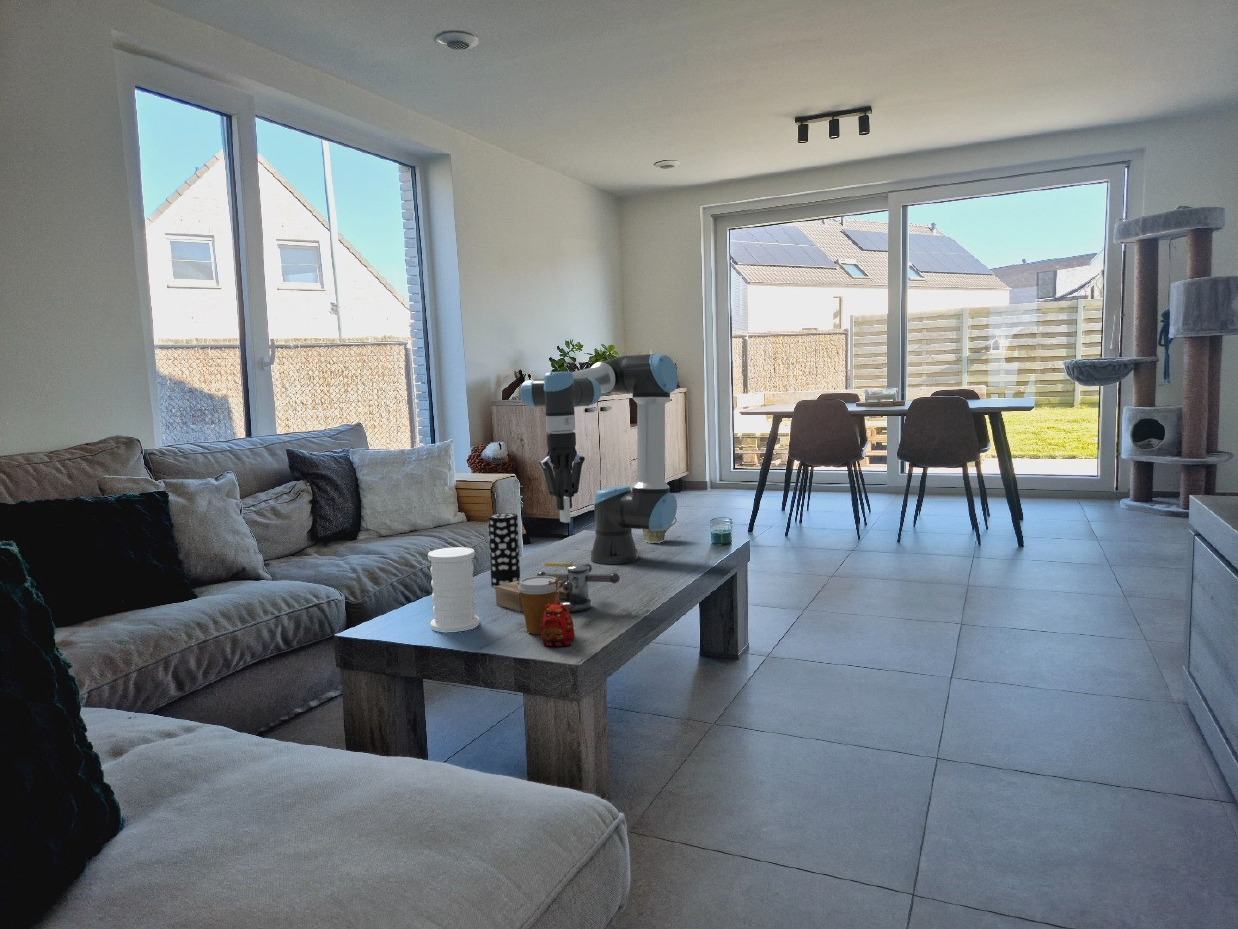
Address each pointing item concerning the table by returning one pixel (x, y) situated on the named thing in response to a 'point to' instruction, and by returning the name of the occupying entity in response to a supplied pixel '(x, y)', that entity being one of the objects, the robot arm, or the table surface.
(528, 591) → the disposable coffee cup
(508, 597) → the walnut stand
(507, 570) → the spotted tube
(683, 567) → the table surface
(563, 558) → the table surface
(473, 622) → the decorative container
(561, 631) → the red clay folk toy
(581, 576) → the capstan
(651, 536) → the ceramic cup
